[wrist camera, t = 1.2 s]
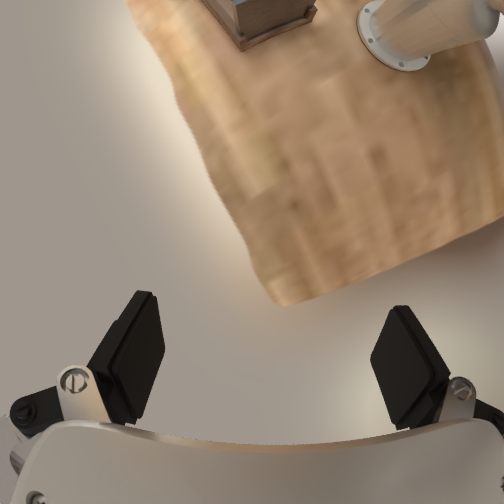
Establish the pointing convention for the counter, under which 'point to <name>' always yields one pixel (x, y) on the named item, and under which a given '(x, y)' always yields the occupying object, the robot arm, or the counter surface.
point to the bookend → (266, 15)
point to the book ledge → (222, 10)
